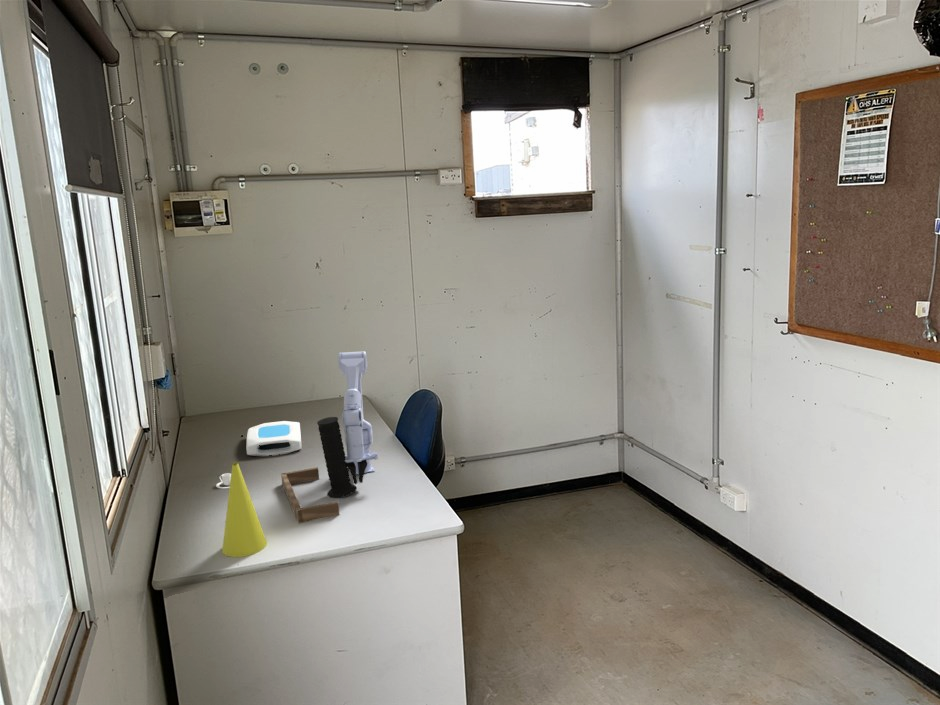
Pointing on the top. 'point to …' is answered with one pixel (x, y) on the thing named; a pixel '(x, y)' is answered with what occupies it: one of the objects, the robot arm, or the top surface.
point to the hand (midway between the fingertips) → (358, 482)
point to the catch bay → (299, 512)
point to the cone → (241, 520)
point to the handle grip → (335, 458)
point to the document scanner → (273, 437)
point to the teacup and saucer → (225, 480)
